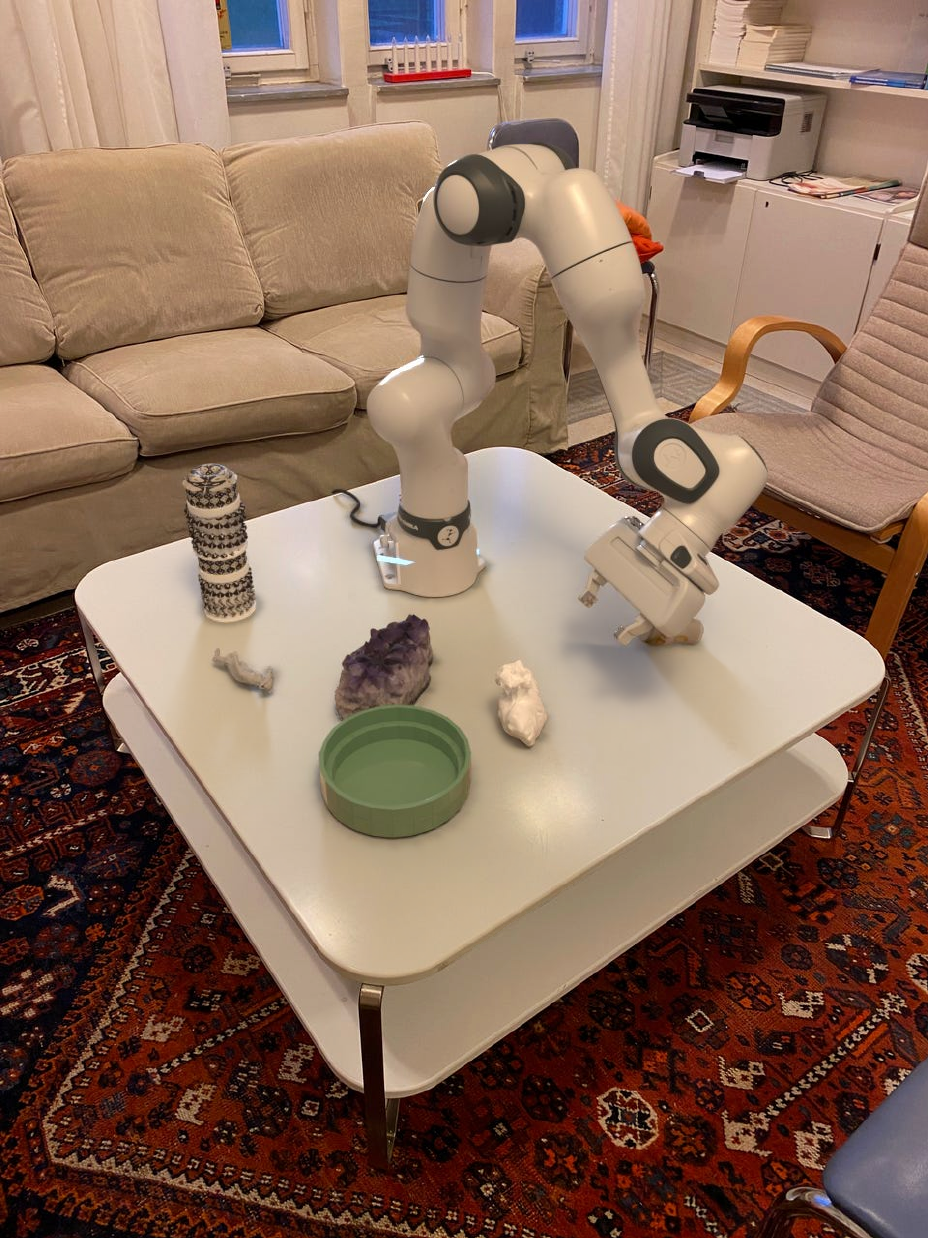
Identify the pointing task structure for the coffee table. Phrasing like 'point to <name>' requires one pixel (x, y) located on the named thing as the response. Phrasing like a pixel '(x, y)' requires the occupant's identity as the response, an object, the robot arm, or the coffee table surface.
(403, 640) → the geode
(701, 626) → the mug
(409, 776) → the bowl
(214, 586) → the decorative candle
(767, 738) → the coffee table surface
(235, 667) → the grey figurine
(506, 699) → the bust
